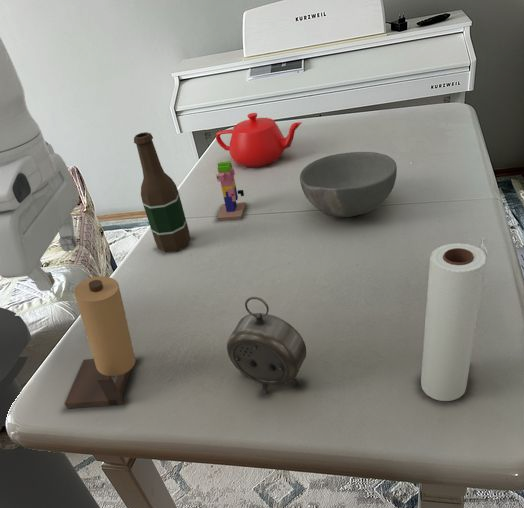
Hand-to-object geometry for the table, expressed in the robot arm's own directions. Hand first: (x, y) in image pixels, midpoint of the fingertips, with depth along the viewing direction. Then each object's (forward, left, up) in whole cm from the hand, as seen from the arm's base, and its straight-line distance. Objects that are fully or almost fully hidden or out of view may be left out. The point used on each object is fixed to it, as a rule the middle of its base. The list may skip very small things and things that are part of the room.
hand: (60, 267), depth 69 cm
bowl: (+42, +49, -22) cm, 68 cm away
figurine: (+15, +55, -22) cm, 61 cm away
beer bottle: (+3, +43, -22) cm, 48 cm away
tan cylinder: (+6, 0, -12) cm, 13 cm away
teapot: (+21, +85, -22) cm, 90 cm away
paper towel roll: (+51, -6, -22) cm, 56 cm away
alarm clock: (+26, -3, -22) cm, 34 cm away
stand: (-2, 0, -22) cm, 22 cm away
